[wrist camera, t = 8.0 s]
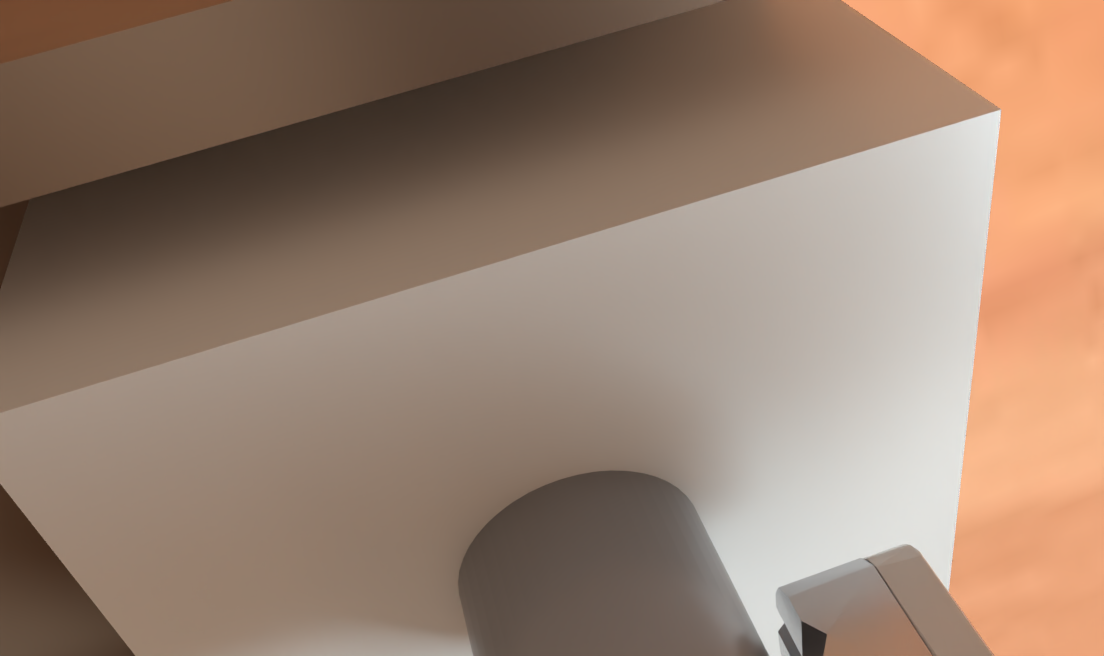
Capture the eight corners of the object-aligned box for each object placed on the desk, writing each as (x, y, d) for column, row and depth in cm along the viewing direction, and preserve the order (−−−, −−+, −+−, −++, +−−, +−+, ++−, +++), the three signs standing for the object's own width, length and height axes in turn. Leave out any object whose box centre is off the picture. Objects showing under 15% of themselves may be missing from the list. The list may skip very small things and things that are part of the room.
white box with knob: (779, -42, 14) (1523, 466, 6) (797, 426, 19) (1187, 1005, 11) (39, 167, 13) (-267, 1098, 5) (286, 594, 18) (328, 1343, 10)
